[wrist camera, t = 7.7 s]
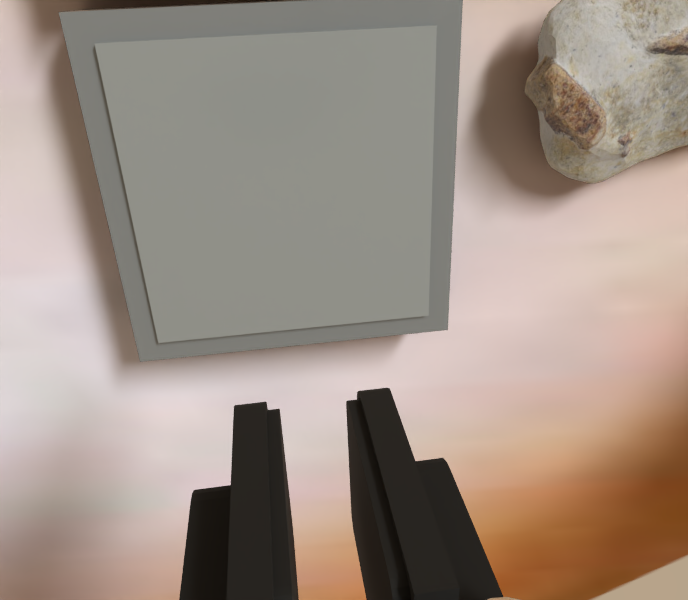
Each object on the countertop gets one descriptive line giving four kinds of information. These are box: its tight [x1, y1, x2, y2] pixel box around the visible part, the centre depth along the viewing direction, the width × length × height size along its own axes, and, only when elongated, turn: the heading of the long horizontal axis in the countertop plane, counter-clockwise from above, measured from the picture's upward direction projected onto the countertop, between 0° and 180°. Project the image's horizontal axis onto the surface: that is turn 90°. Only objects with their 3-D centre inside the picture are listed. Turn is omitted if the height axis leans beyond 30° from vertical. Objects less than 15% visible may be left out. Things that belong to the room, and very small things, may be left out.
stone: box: [524, 0, 688, 183], centre depth 25 cm, size 12×9×3 cm
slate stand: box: [59, 0, 463, 362], centre depth 25 cm, size 14×14×3 cm
